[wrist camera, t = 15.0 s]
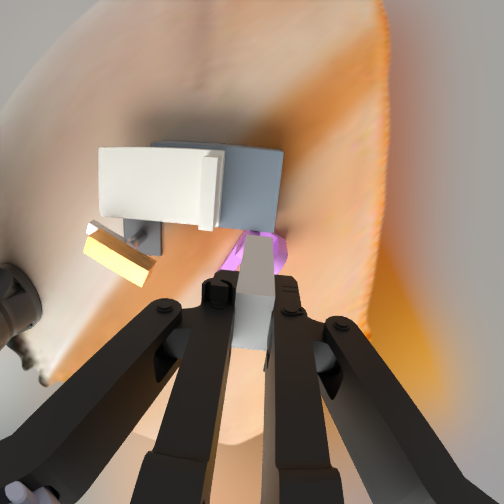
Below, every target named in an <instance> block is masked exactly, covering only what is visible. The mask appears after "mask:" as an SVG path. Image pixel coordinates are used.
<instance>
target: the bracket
mask: <svg viewBox="0 0 504 504" xmlns="http://www.w3.org/2000/svg"><path fill="white" fill-rule="evenodd" d="M246 235H256V236H265V237H273V256H274V274H275V275H277V274H278V273H279V272H280V270H281V269H282V267H283V266H284V264H285V262H286V260H287V256H288V252H287V246H286V240H285V239H284V238H282V237H280V236H279V235H277V234H276V233H268V232H259V231H250V230H245V231H244V232H243V234H242V235H241V237H240V238H239V240H238V241H237V243H236V244H235V246H234V247H233V249H232V250H231V252H230V254H229V255H228V257H227V258H226V260H225V261H224V263H223V264H222V266H221V267H220V269H223V270H231V271H235V270H236V268H237V267H238V265H239V264H240V263H241V261H242V256H243V251H244V245H245V240H246ZM220 269H219V270H220ZM219 270H218V271H219Z"/></svg>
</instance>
